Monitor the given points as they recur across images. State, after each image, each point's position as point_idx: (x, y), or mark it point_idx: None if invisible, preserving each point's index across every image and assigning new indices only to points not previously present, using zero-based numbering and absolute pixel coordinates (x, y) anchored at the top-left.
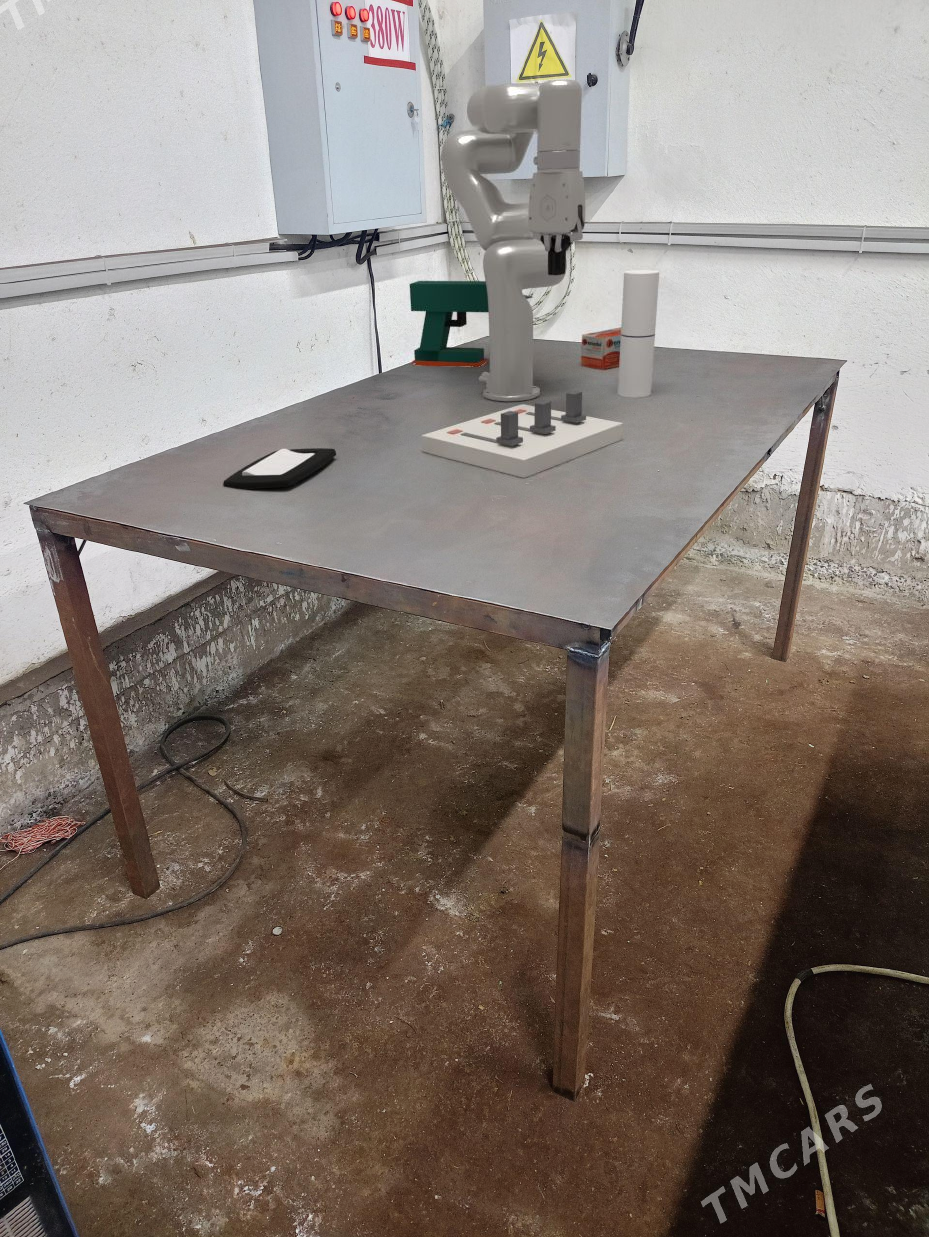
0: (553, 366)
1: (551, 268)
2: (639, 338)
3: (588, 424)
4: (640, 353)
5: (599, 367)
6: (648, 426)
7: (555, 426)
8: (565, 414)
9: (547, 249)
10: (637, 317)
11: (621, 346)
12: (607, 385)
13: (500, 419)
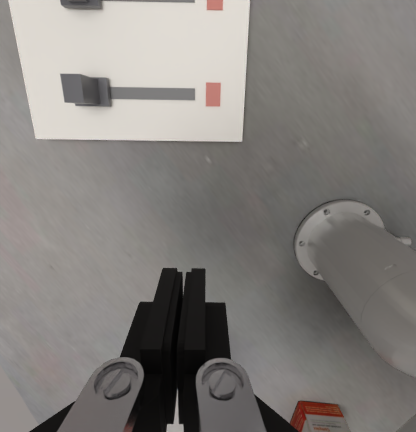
0: (371, 387)
1: (184, 286)
2: None
3: None
4: None
5: (306, 403)
6: (71, 214)
7: (61, 4)
8: (105, 88)
9: (222, 373)
10: (170, 424)
11: None
12: (248, 347)
13: (207, 26)
